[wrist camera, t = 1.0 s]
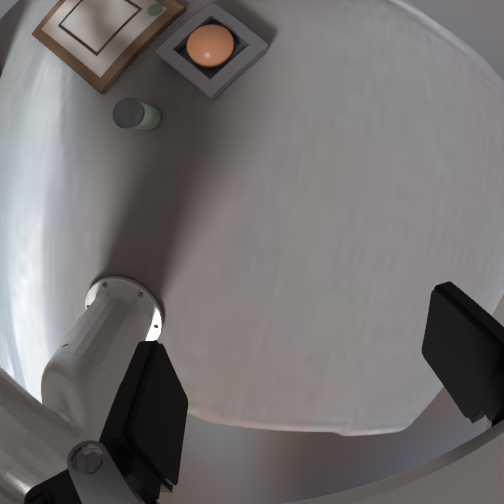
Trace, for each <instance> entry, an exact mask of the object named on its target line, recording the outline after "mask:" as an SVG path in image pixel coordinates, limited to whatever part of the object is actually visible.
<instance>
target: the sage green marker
mask: <svg viewBox="0 0 504 504" xmlns="http://www.w3.org/2000/svg"><path fill="white" fill-rule="evenodd" d="M161 119H162V116H161V112H160V111H159V110H158V109H157V108H155V107H153V106H150V105H147V104H145V103H142V102H139V101H137V100H135V99H132V98H126V99H123V100H121V101H120V102H118V103H117V105H116V106H115V108H114V110H113V120H114V122H115V124H116V125H117V126H119V127H121V128H131V129H141V130H153V129H155V128H157V127H158V126H159V124H160V122H161Z"/></svg>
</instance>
